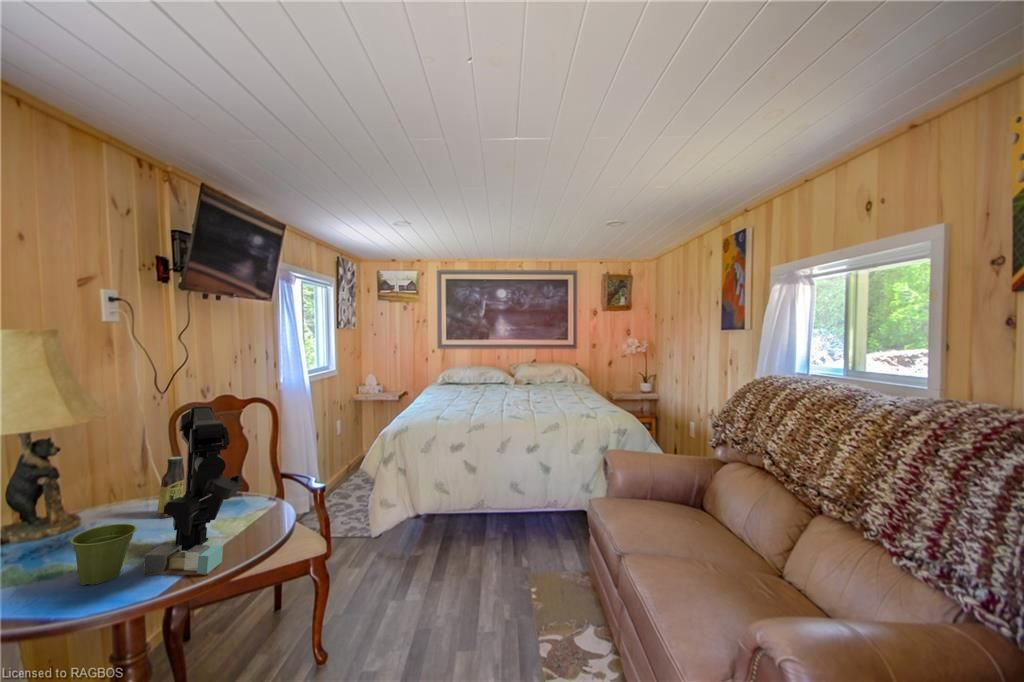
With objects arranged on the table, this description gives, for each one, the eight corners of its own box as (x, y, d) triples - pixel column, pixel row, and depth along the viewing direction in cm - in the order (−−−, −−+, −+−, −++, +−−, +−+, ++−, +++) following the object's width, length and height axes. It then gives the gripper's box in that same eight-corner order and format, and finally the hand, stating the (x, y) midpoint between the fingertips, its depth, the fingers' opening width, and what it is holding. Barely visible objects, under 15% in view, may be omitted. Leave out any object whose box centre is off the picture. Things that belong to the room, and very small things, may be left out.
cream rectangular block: (163, 570, 100) (164, 551, 100) (175, 562, 104) (176, 544, 104) (206, 570, 100) (207, 552, 101) (216, 562, 104) (218, 545, 104)
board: (144, 574, 99) (144, 571, 99) (160, 563, 104) (160, 561, 104) (207, 575, 100) (207, 572, 100) (220, 564, 105) (221, 562, 105)
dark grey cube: (143, 572, 99) (145, 554, 99) (161, 560, 104) (162, 544, 104) (163, 572, 99) (165, 555, 99) (180, 561, 104) (181, 544, 105)
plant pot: (89, 595, 90) (94, 547, 90) (51, 587, 92) (56, 540, 92) (145, 568, 101) (149, 526, 102) (110, 561, 103) (114, 520, 104)
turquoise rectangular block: (197, 573, 99) (198, 555, 100) (212, 561, 105) (213, 545, 105) (206, 573, 100) (208, 555, 100) (221, 561, 105) (223, 545, 105)
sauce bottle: (169, 519, 129) (174, 461, 130) (151, 518, 130) (157, 460, 130) (186, 511, 136) (191, 456, 137) (169, 510, 136) (174, 455, 137)
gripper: (211, 481, 94) (205, 545, 94) (256, 461, 113) (252, 513, 112) (164, 480, 94) (158, 544, 93) (217, 459, 112) (213, 512, 112)
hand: (200, 527), depth 102 cm, fingers open, 9 cm apart
